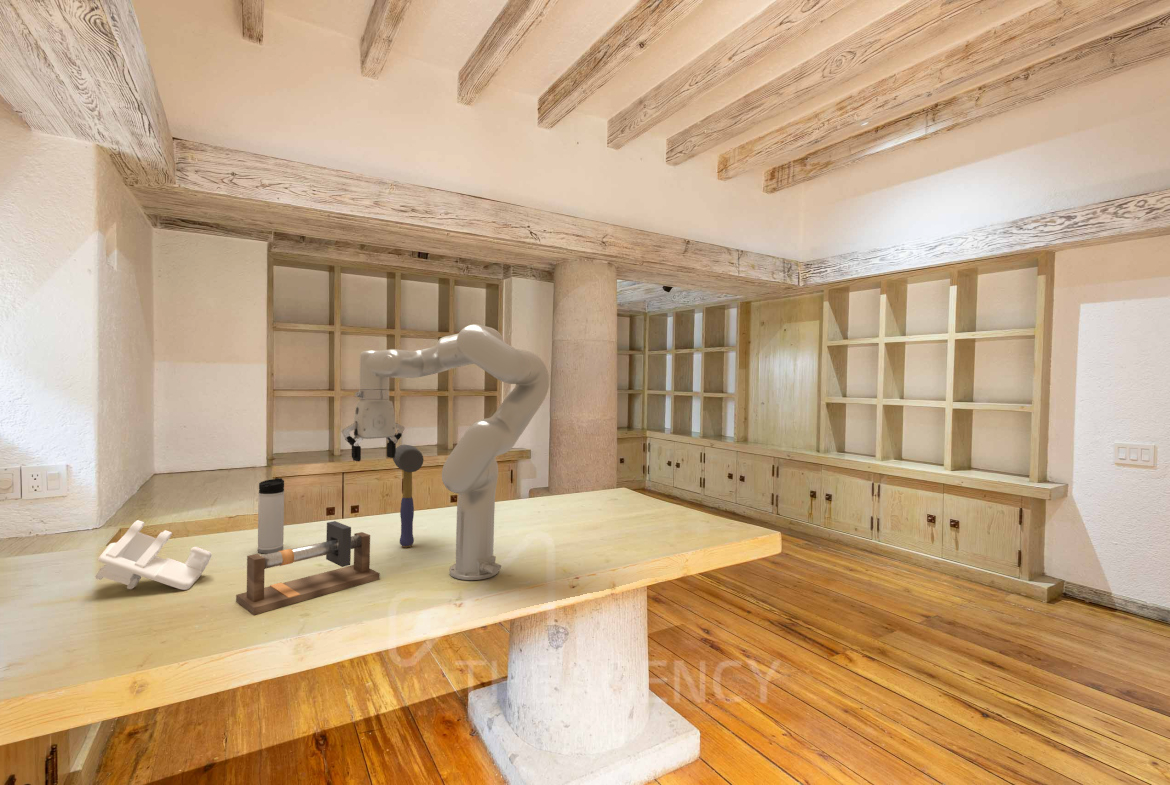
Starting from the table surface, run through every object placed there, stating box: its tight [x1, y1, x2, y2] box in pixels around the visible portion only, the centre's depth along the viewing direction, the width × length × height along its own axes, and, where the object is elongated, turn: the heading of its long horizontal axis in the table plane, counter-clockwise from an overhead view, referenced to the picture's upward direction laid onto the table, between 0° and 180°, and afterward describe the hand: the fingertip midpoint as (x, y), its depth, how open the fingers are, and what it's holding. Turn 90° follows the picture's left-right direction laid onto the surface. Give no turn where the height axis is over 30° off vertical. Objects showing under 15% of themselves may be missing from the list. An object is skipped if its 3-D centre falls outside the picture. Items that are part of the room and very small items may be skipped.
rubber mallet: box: [392, 444, 425, 548], centre depth 159 cm, size 12×8×30 cm, turn 29°
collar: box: [325, 520, 352, 568], centre depth 130 cm, size 2×8×9 cm, turn 51°
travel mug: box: [257, 477, 285, 555], centre depth 152 cm, size 6×7×20 cm
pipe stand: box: [235, 531, 381, 616], centre depth 125 cm, size 28×10×11 cm, turn 141°
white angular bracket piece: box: [94, 519, 213, 591], centre depth 125 cm, size 20×11×13 cm, turn 111°
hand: (374, 459), depth 146 cm, fingers open, 9 cm apart
